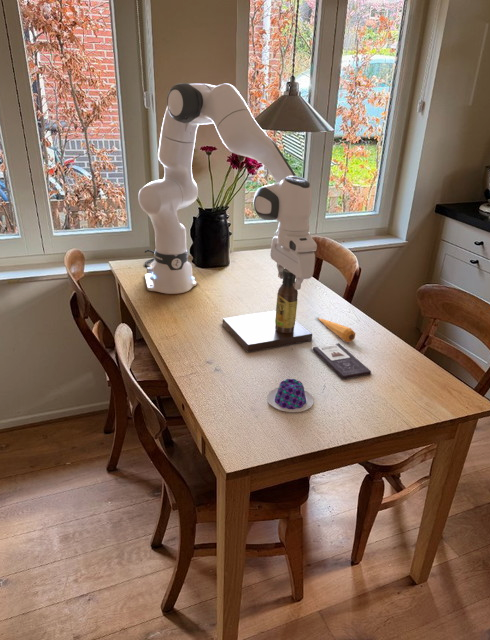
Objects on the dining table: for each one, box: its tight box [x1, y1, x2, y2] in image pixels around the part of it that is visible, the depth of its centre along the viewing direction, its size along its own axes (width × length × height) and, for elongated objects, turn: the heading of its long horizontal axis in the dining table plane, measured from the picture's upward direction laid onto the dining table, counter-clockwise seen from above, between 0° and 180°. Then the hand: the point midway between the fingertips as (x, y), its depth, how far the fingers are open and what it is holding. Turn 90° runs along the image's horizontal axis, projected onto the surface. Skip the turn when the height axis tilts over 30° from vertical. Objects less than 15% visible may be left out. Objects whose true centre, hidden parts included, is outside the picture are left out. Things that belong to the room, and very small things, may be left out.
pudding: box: [266, 378, 315, 413], centre depth 135 cm, size 12×12×5 cm
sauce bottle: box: [275, 268, 299, 333], centre depth 162 cm, size 6×6×20 cm
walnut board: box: [222, 309, 313, 353], centre depth 170 cm, size 20×22×2 cm
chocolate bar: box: [312, 342, 372, 380], centre depth 156 cm, size 9×1×18 cm
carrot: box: [317, 317, 356, 343], centre depth 174 cm, size 20×4×4 cm, turn 27°
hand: (288, 283), depth 159 cm, fingers open, 8 cm apart
